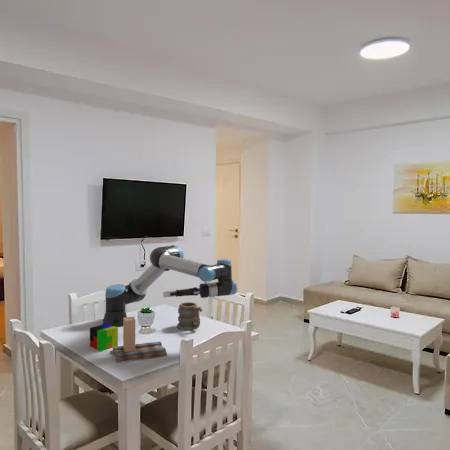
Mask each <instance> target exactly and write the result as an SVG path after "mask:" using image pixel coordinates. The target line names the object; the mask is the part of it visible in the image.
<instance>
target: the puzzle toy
mask: <svg viewBox="0 0 450 450" xmlns="http://www.w3.org/2000/svg"><path fill="white" fill-rule="evenodd" d="M118 328H119V327H115V326H112V325H109V324H103V323H102V324H99V325H96V326H93V327H89V347H90V348H92V349H95V350H97V351H99V352H103V351H107V350H110V349H113V347H116V346H119V343H118V342H119V339H118V338H119V337H118V335H119V334H118V333H119V329H118Z"/></svg>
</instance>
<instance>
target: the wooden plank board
mask: <svg viewBox="0 0 450 450" xmlns="http://www.w3.org/2000/svg"><path fill="white" fill-rule="evenodd" d="M162 344H163V343H162V341H153V342H151V341H150V342H144V343H143V342H142V343H135V351H133V352H125V353H124V350H123V345H118V346H116V347H113V348H112V352H113V355H114V359H115V361H116V363H123V362H122V361H124V362H131V361H138V360H139V361H140V360H146V359H151V358H152V359H153V358H154V357H155V358H160V357H161V356H162V357H168V355H167V354H168V353H167V348H166V347H163V345H162ZM130 360H131V361H130Z"/></svg>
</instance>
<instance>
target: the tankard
mask: <svg viewBox="0 0 450 450" xmlns="http://www.w3.org/2000/svg"><path fill="white" fill-rule="evenodd" d="M178 306H179V307H178V308H177V312H178V317H177V321H178V323H177V324H176V328H177V329H179V330H181V331H189V330H190V331H194V329H195V330H198V329H199V327H200V325H201V318H200V313H201V312H203V308H202V307H201V306H198V304H197V303H196V302H191V301H190V302H188V301H186V302H181V303H180V304H179V305H178ZM197 328H198V329H197Z"/></svg>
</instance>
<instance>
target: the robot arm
mask: <svg viewBox="0 0 450 450" xmlns="http://www.w3.org/2000/svg"><path fill="white" fill-rule="evenodd" d="M182 249H183V248H181V247H180V246H179V245H175V244H173V245H167V246H158V247H156V248H154V249H153V250H152V251H151V253H150V255H149V262H150V264H151V265H150V266H149V267H147V269H146V270H145V271H144V272H143V273H142V274H141V275H139V276H138V278H137V279H136V278H135V279H132V280H131V281H130V282H129V283H128V284H127V285H125V284H123V283H116V284H112V285H108V286H107V287H106V289H105V295H104V296H105V312H104V313H105V314H104V316H103V320H102V325H103V324H109V325H112V326H115V327H118V328H119V327H123V318H125V317H128V315H127V311H126V305H129V304H133V303H138V302H141V301H142V300H144V299H145V297H146V295H147V294H146V293H147V291H148V290H147V289H148V288H149V287H151V285H153V283H154V282H155V281H156V280H158V278H160V277H161V275H162V274H164V273H165V272H169V271H170V270H171V271H175V272H176V273H177V272H178V273H181V274H184V275H189V276H192V277H195V278H199V279H200V281H201V282H203V283H200V284H199V287H196V286H195V287H191V288H183V289H176V290H169V291H163V292H162V296H163V298H172V297H175V298H178V297H189V296H194V297H195V296H199V295H200V298H201V299H205V298H213V299H215V298H216V297H222V296H224V297H225V296H233V295H235V294H236V293H237V291H238V287H237V282H236V280H233V277H232V274H233V273H232V261H231V259H229V258H220V259H217V261H216V263H215V264H211V265H209V264H205V263H203V262H202V263H201V262H198V261H194V260H191V259H186V258H184V255H185V254H184V251H183V250H182ZM214 280H217V282H211V281H214ZM206 282H207V283H206Z"/></svg>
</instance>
